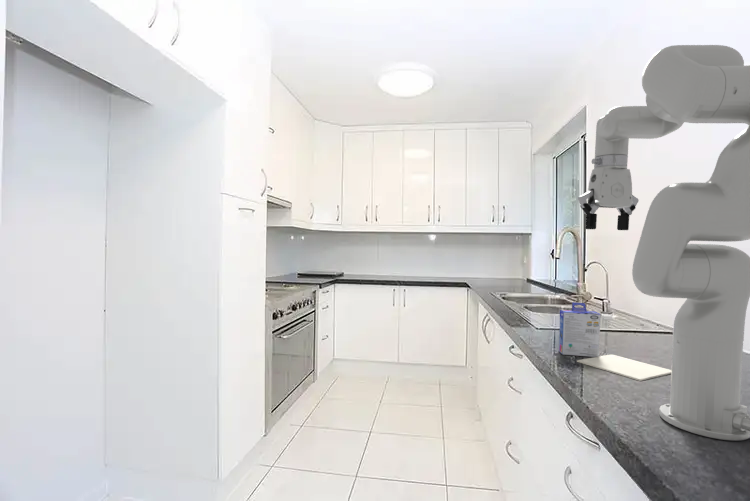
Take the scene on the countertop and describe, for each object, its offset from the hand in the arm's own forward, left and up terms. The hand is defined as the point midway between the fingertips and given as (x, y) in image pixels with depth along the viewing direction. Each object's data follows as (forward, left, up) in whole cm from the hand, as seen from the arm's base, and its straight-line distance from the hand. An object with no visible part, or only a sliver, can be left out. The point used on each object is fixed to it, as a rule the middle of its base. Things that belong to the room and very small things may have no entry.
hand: (606, 229), depth 107 cm
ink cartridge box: (+8, -2, -36) cm, 37 cm away
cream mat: (-5, -2, -35) cm, 36 cm away
